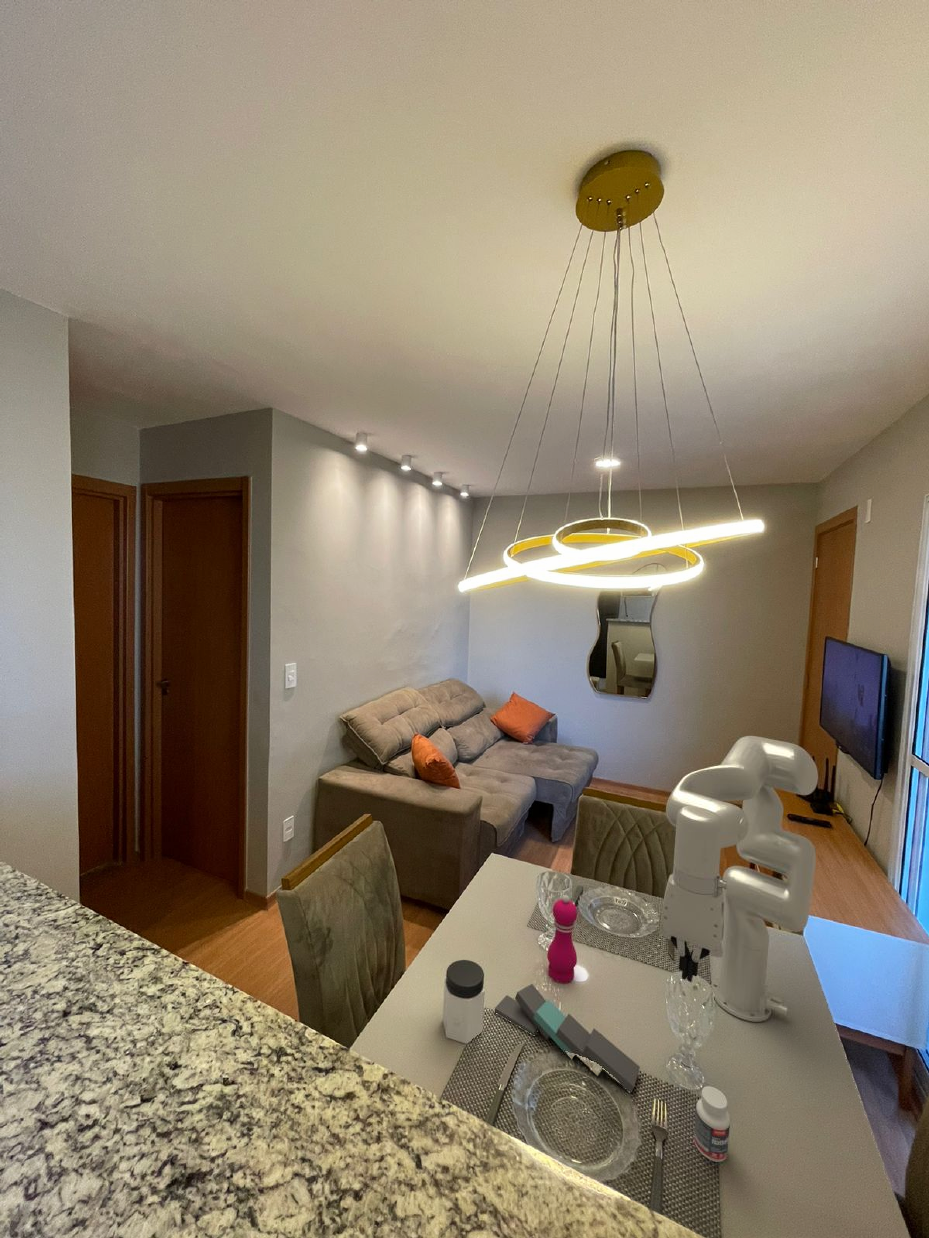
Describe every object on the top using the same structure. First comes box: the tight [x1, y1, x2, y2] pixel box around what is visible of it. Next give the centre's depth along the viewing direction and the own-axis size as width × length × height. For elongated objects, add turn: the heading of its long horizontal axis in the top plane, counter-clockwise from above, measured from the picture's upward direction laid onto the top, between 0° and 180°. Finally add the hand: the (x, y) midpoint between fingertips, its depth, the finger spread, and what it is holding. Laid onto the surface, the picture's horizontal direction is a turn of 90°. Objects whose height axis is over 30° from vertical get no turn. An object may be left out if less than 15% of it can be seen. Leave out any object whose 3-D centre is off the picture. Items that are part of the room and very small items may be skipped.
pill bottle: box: [693, 1085, 731, 1163], centre depth 89 cm, size 5×5×9 cm
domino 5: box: [583, 1028, 640, 1094], centre depth 102 cm, size 2×5×10 cm
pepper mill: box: [546, 894, 578, 984], centre depth 128 cm, size 7×7×20 cm
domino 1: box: [494, 994, 539, 1035], centre depth 114 cm, size 2×5×10 cm
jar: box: [442, 959, 486, 1045], centre depth 110 cm, size 9×8×12 cm
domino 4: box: [555, 1013, 592, 1061], centre depth 105 cm, size 2×5×10 cm
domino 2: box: [514, 983, 551, 1041], centre depth 113 cm, size 2×5×10 cm
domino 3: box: [534, 998, 573, 1053], centre depth 109 cm, size 2×5×10 cm
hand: (687, 975), depth 94 cm, fingers closed
